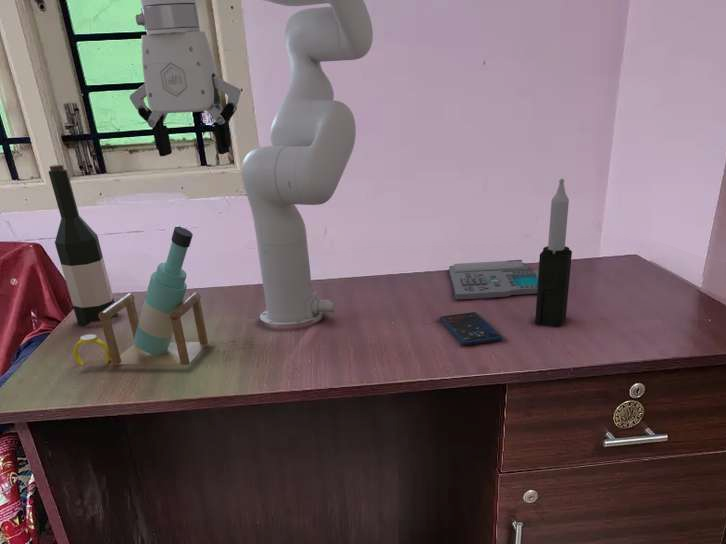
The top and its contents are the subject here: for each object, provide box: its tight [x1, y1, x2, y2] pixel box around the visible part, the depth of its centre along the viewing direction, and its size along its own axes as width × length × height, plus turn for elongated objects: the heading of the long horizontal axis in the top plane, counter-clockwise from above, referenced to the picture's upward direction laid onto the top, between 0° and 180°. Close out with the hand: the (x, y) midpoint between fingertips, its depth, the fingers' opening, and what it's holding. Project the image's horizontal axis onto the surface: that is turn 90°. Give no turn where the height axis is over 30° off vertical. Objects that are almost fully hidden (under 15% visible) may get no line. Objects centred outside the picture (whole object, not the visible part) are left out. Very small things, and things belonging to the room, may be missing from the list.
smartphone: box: [439, 311, 503, 346], centre depth 133 cm, size 8×1×15 cm
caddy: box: [98, 292, 210, 366], centre depth 127 cm, size 15×11×10 cm
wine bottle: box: [48, 164, 119, 327], centre depth 143 cm, size 8×8×30 cm
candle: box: [534, 178, 573, 327], centre depth 128 cm, size 5×5×25 cm
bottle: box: [133, 226, 194, 355], centre depth 123 cm, size 14×6×22 cm, turn 82°
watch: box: [73, 333, 111, 366], centre depth 126 cm, size 6×3×6 cm, turn 93°
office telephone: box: [448, 259, 539, 300], centre depth 157 cm, size 23×3×20 cm
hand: (194, 154), depth 111 cm, fingers open, 9 cm apart
